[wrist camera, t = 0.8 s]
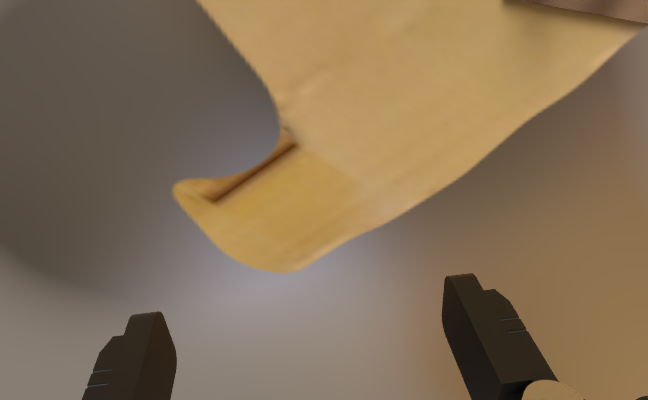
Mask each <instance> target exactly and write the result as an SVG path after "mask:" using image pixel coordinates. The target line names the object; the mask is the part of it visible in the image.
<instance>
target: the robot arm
mask: <svg viewBox="0 0 648 400" xmlns="http://www.w3.org/2000/svg"><path fill="white" fill-rule="evenodd" d="M442 323H443V328H444V332H445V335H446V338H447V341H448V343H449V345H450V348H451V350H452V353H453V355H454V358H455V360H456V362H457V365H458V367H459V370H460V372H461V374H462V377H463V379H464V382H465V384H466V387H467V389H468V392H469V394H470V397H471V399H472V400H584V399H583V398H582V397H581V396H580V395H579V394H578V393H577V392H576V391H574V390H573V389H572V388H570V387H569V386H567V385H565V384H563V383H560V382H559V381H558V380H557V378H556V377H555V375H554V374H553V372H552V371H551V369H550V367H549V365H548V364H547V362H546V361H545V359H544V357H543V356H542V354H541V352H540V351H539V349H538V348H537V346H536V344H535V343H534V341H533V339H532V337H531V336H530V334H529V332H527V331H526V327H525V326H524V324H523V323H522V321H521V320H520V319H519V316H518V314H517V313H516V311H515V309H514V308H513V306H512V304H511V303H510V301H508V300H507V299H506V298H505V297H504V296H502V295H501V294H500V293H499V292H497V291H496V290H495V289H491V290H484V291H483V289H482V287H481V285H480V283H479V282H478V280H477V278H476V276H475V275H474V274H473V273H470V274H461V275H453V276H447V277H446V278H445V282H444V294H443V307H442ZM176 365H177V358H176V350H175V347H174V344H173V341H172V338H171V335H170V333H169V330H168V327H167V325H166V322H165V319H164V316H163V314H162V313H161V312H151V313H143V314H136V315H132V316H131V317H130V319H129V321H128V324H127V327H126V331H125V333H124V335H123V336H115V337H112V339H111V340H110V341H109V342H108V344H107V345H106V346H105V347H104V348H103V349H102V351H101V352H100V353H99V356H98V358H97V361H96V364H95V367H94V369H93V374H91V377H90V379H89V382H88V388H87V389H86V390H85V393H84V395H83V398H82V400H170V398H171V393H172V388H173V383H174V378H175V373H176ZM636 400H648V396H644V397H640V398H638V399H636Z"/></svg>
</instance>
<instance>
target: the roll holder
mask: <svg viewBox="0 0 648 400" xmlns="http://www.w3.org/2000/svg"><path fill="white" fill-rule="evenodd" d="M521 1H527V2H532V3H538V4H543V5H548V6H554V7H559V8H565V9H570V10H576V11H581V12H587V13H592V14H597V15H603V16H608V17H614V18H619V19H625V20H630V21H636V22H641V23H647V24H648V0H521Z"/></svg>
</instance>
